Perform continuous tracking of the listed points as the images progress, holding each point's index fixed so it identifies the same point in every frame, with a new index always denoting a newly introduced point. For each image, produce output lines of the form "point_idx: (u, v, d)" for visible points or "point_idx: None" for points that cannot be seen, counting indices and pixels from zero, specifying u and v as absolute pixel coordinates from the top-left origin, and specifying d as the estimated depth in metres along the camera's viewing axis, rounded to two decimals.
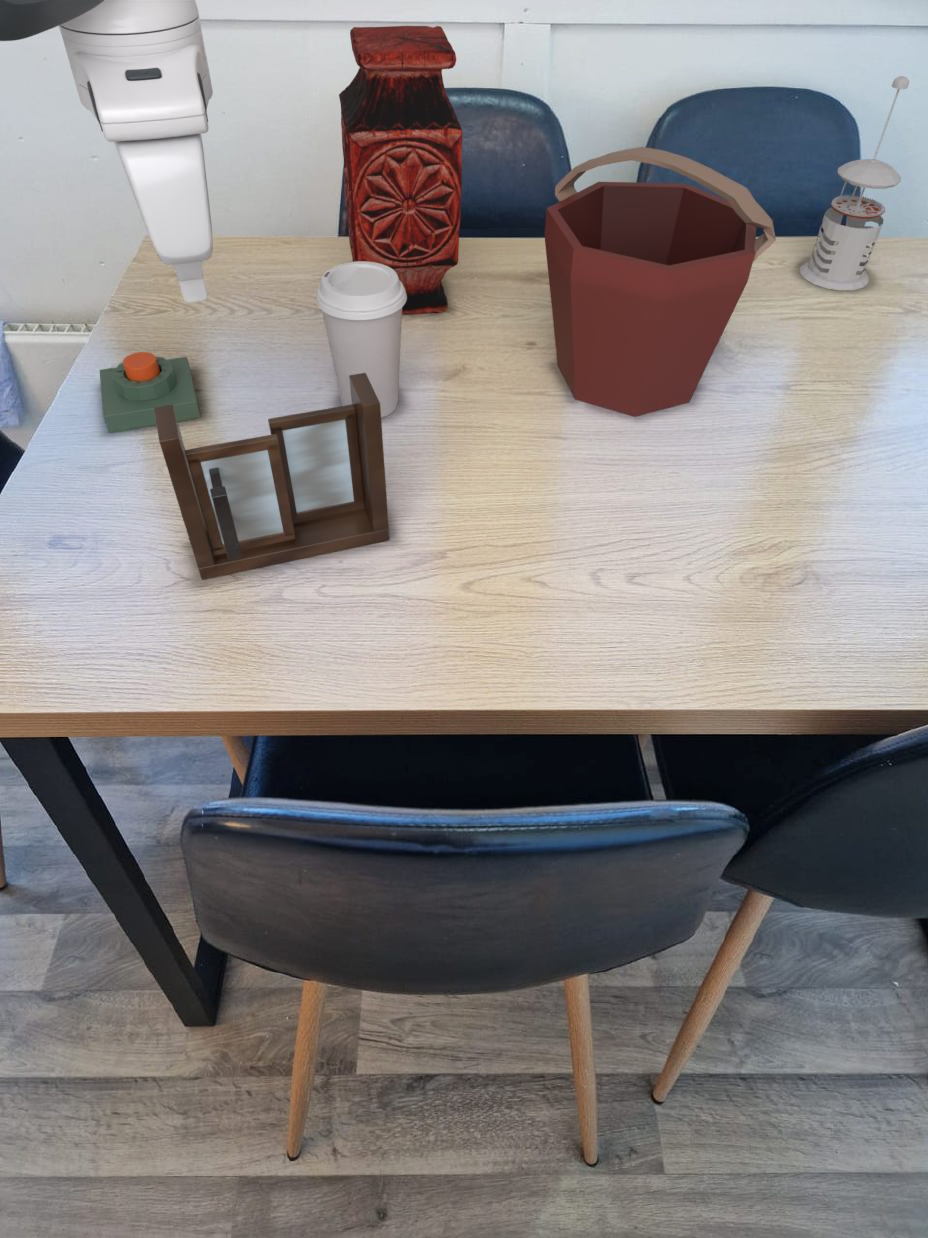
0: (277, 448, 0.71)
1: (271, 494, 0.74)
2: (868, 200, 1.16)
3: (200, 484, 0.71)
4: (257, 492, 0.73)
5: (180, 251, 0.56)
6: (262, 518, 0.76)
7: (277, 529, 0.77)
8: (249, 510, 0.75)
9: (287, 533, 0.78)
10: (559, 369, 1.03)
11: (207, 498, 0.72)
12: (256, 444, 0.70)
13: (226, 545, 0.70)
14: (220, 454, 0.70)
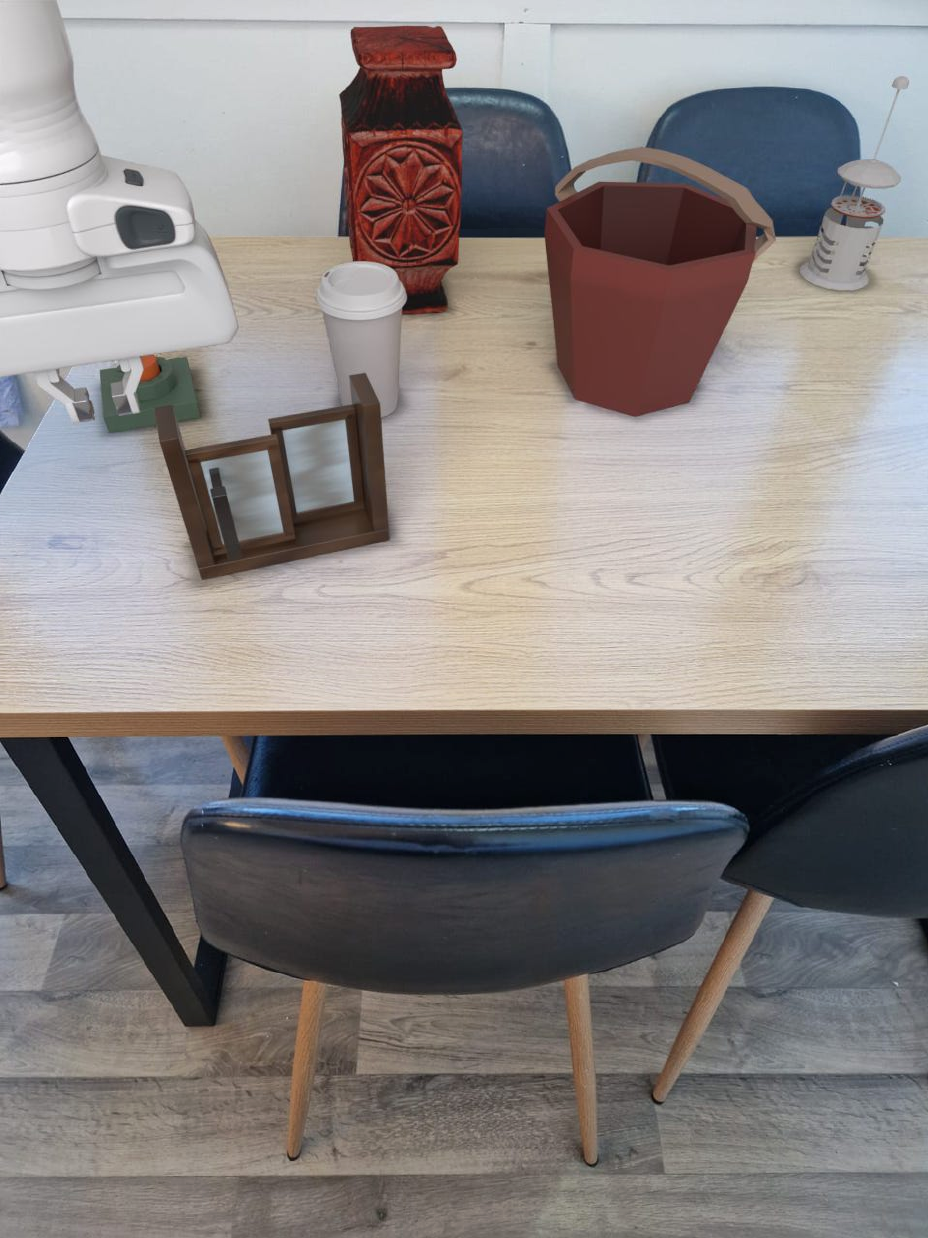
0: (277, 448, 0.71)
1: (271, 494, 0.74)
2: (868, 200, 1.16)
3: (200, 484, 0.71)
4: (257, 492, 0.73)
5: None
6: (262, 518, 0.76)
7: (277, 529, 0.77)
8: (249, 510, 0.75)
9: (287, 533, 0.78)
10: (559, 369, 1.03)
11: (207, 498, 0.72)
12: (256, 444, 0.70)
13: (226, 545, 0.70)
14: (220, 454, 0.70)
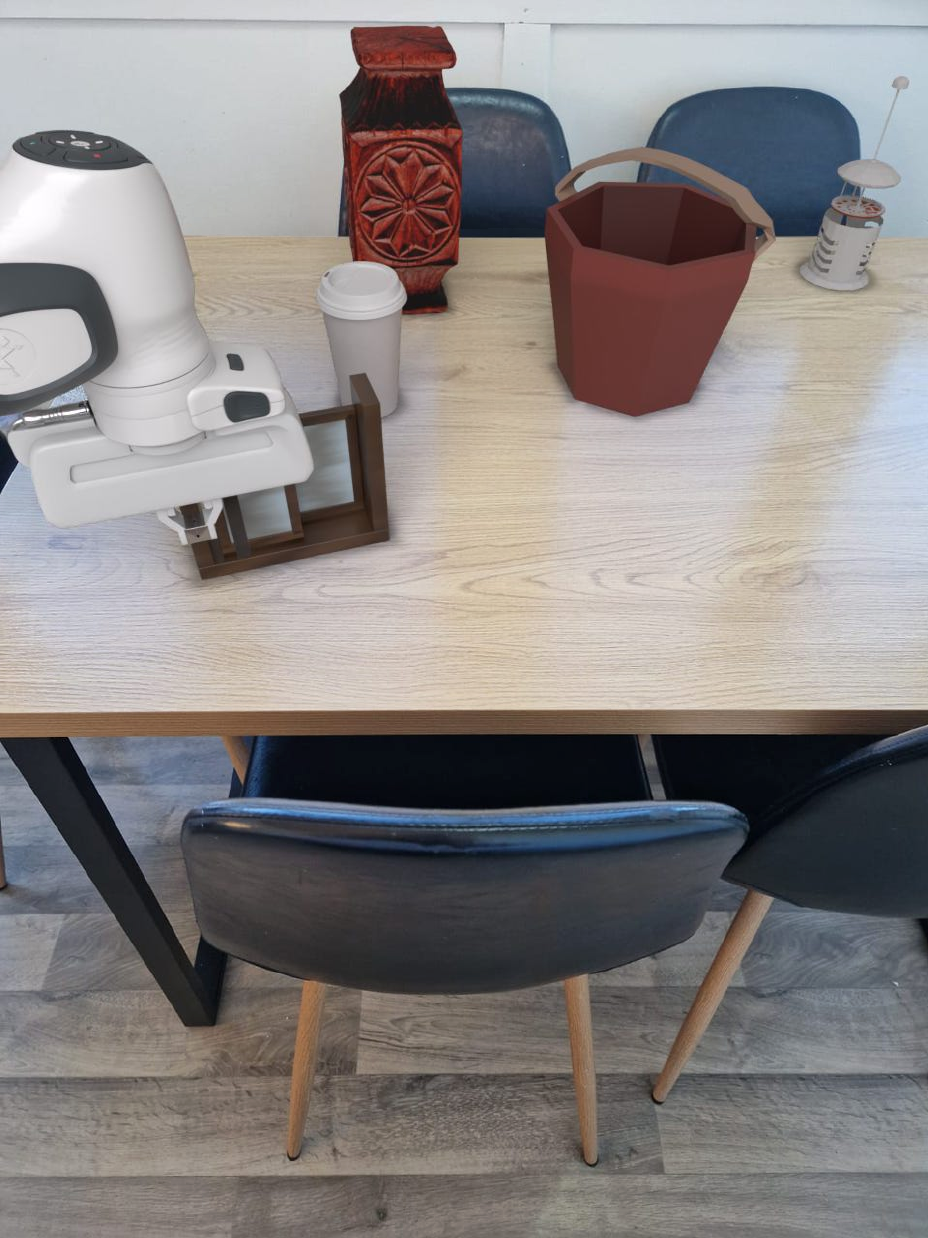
0: None
1: (280, 493, 0.74)
2: (868, 200, 1.16)
3: None
4: (266, 490, 0.74)
5: None
6: (271, 516, 0.76)
7: (285, 527, 0.77)
8: (258, 508, 0.75)
9: (295, 531, 0.78)
10: (559, 369, 1.03)
11: None
12: None
13: (235, 543, 0.71)
14: None
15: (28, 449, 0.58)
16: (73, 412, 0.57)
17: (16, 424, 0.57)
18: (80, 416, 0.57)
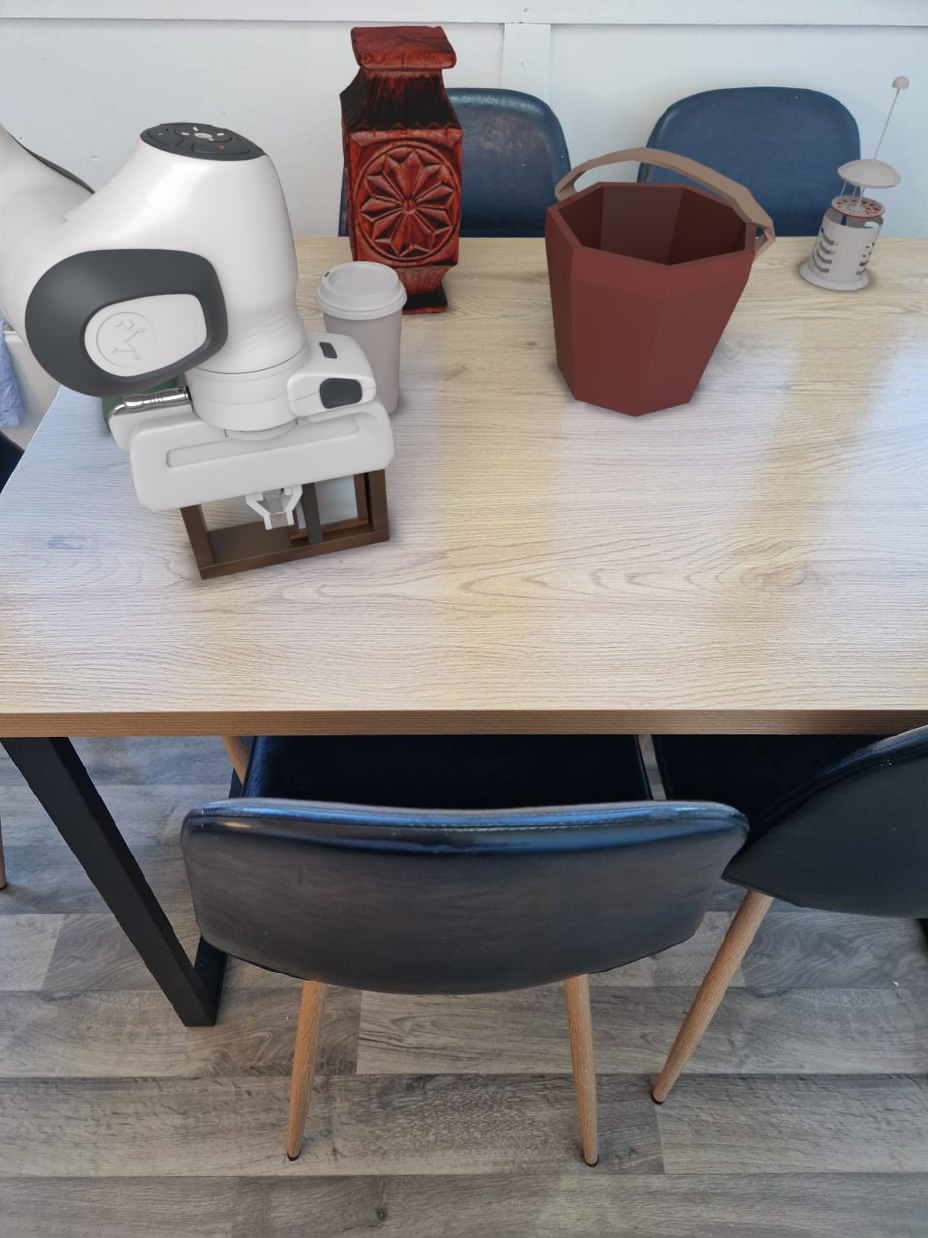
0: None
1: (349, 479, 0.76)
2: (868, 200, 1.16)
3: None
4: None
5: None
6: (338, 503, 0.77)
7: (351, 514, 0.79)
8: (326, 495, 0.76)
9: (361, 518, 0.79)
10: (559, 369, 1.03)
11: None
12: None
13: (309, 528, 0.72)
14: None
15: (127, 433, 0.60)
16: (173, 397, 0.59)
17: (118, 408, 0.58)
18: (179, 401, 0.59)
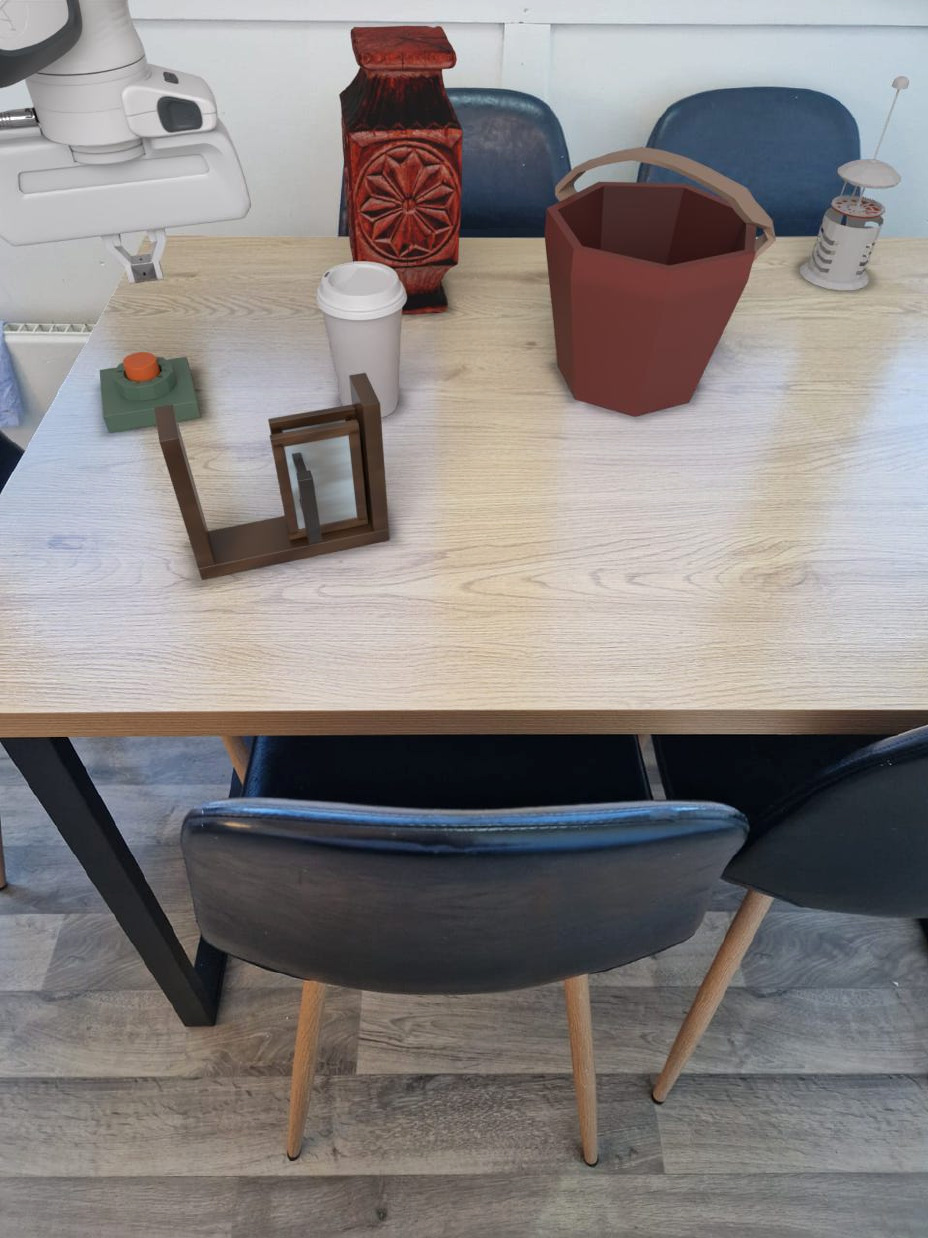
0: (358, 433, 0.72)
1: (348, 479, 0.76)
2: (868, 200, 1.16)
3: (282, 469, 0.72)
4: (335, 477, 0.75)
5: None
6: (338, 503, 0.77)
7: (351, 514, 0.79)
8: (326, 495, 0.76)
9: (360, 518, 0.79)
10: (559, 369, 1.03)
11: (288, 483, 0.74)
12: (338, 429, 0.71)
13: (308, 528, 0.72)
14: (303, 439, 0.71)
15: None
16: (19, 116, 0.62)
17: None
18: (26, 121, 0.62)
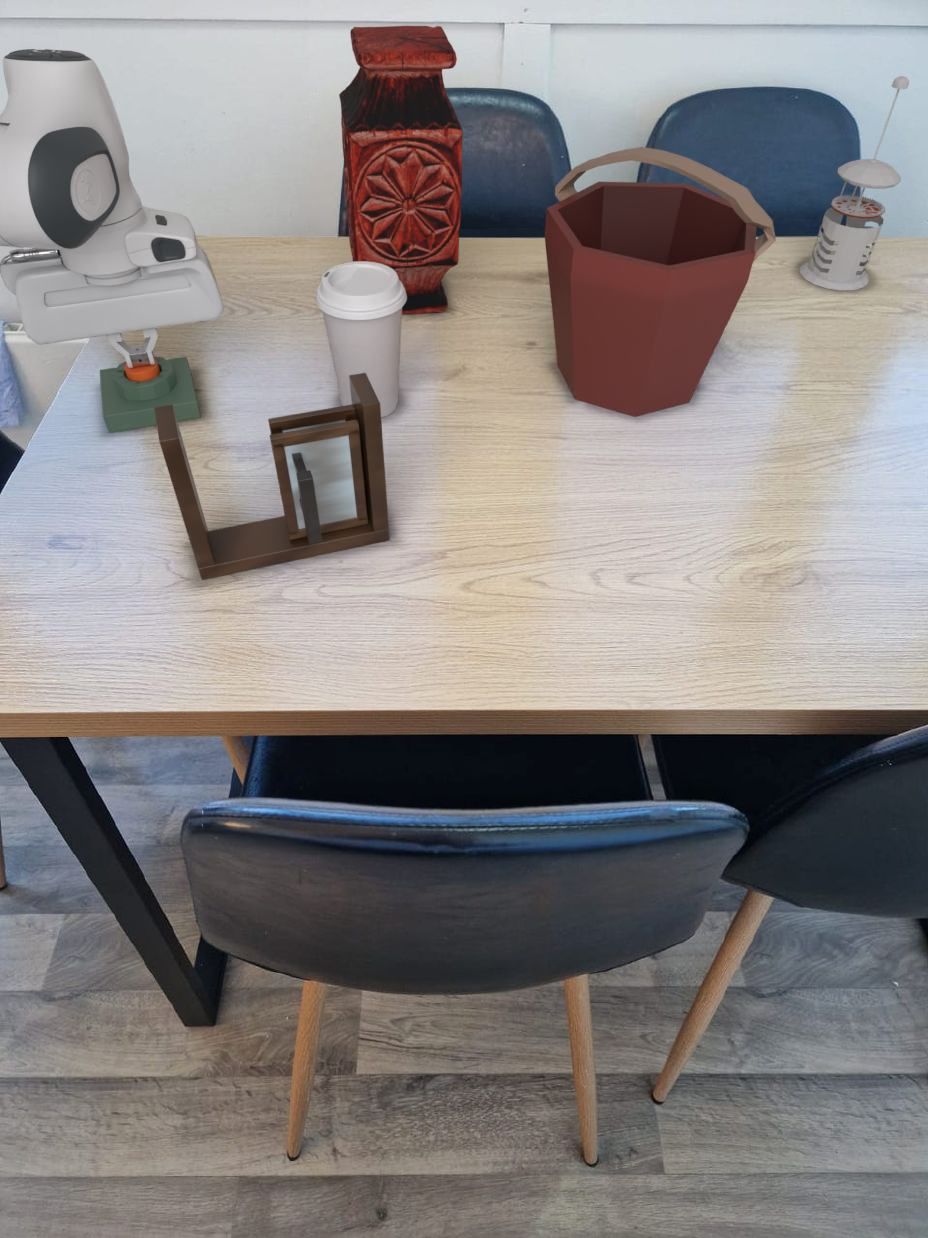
0: (358, 433, 0.72)
1: (348, 479, 0.76)
2: (868, 200, 1.16)
3: (282, 469, 0.72)
4: (335, 477, 0.75)
5: None
6: (338, 503, 0.77)
7: (351, 514, 0.79)
8: (326, 495, 0.76)
9: (360, 518, 0.79)
10: (559, 369, 1.03)
11: (288, 483, 0.74)
12: (338, 429, 0.71)
13: (308, 528, 0.72)
14: (303, 439, 0.71)
15: (14, 279, 0.83)
16: (46, 251, 0.82)
17: (5, 259, 0.81)
18: (51, 255, 0.82)
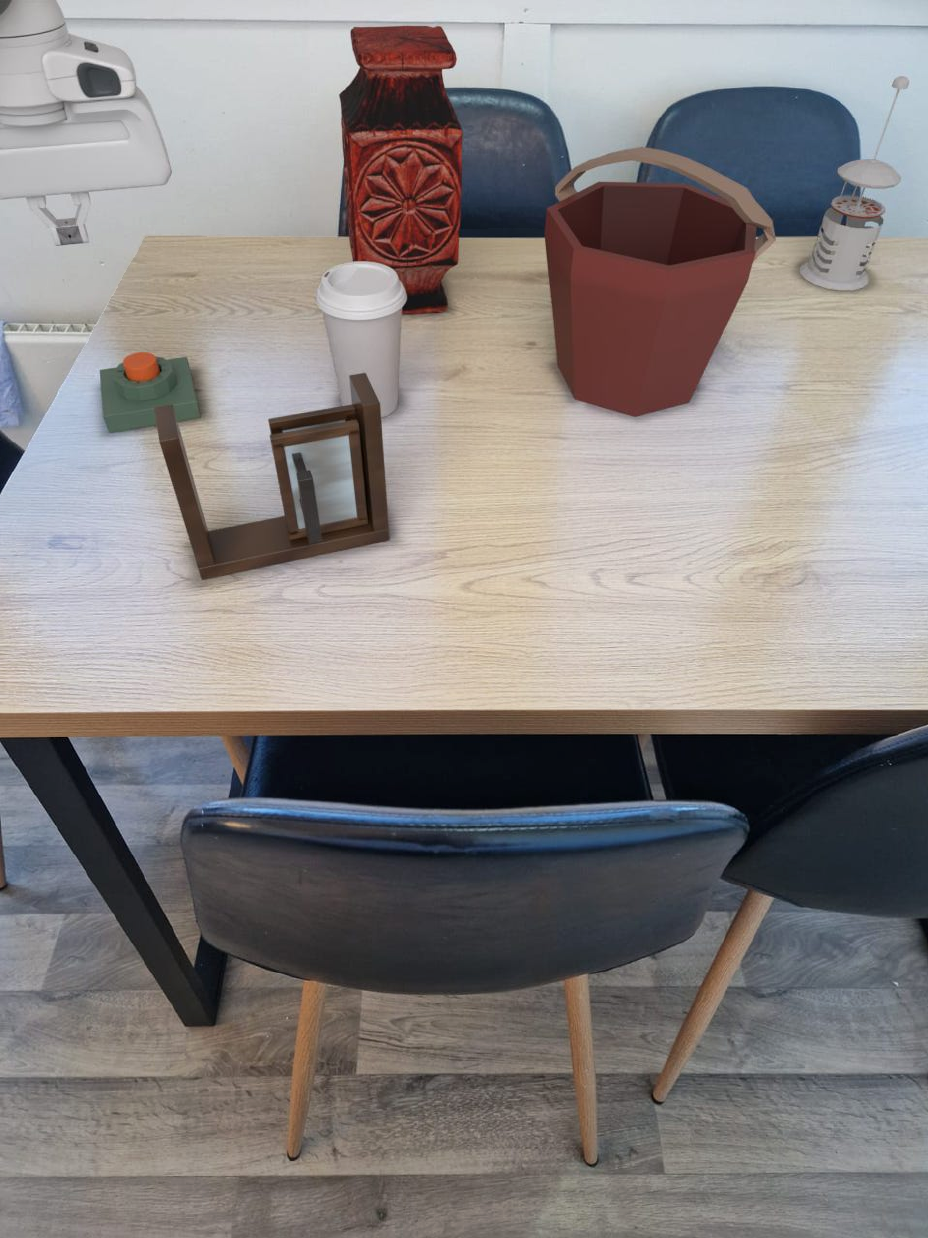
0: (358, 433, 0.72)
1: (348, 479, 0.76)
2: (868, 200, 1.16)
3: (282, 469, 0.72)
4: (335, 477, 0.75)
5: None
6: (338, 503, 0.77)
7: (351, 514, 0.79)
8: (326, 495, 0.76)
9: (360, 518, 0.79)
10: (559, 369, 1.03)
11: (288, 483, 0.74)
12: (338, 429, 0.71)
13: (308, 528, 0.72)
14: (303, 439, 0.71)
15: None
16: None
17: None
18: None
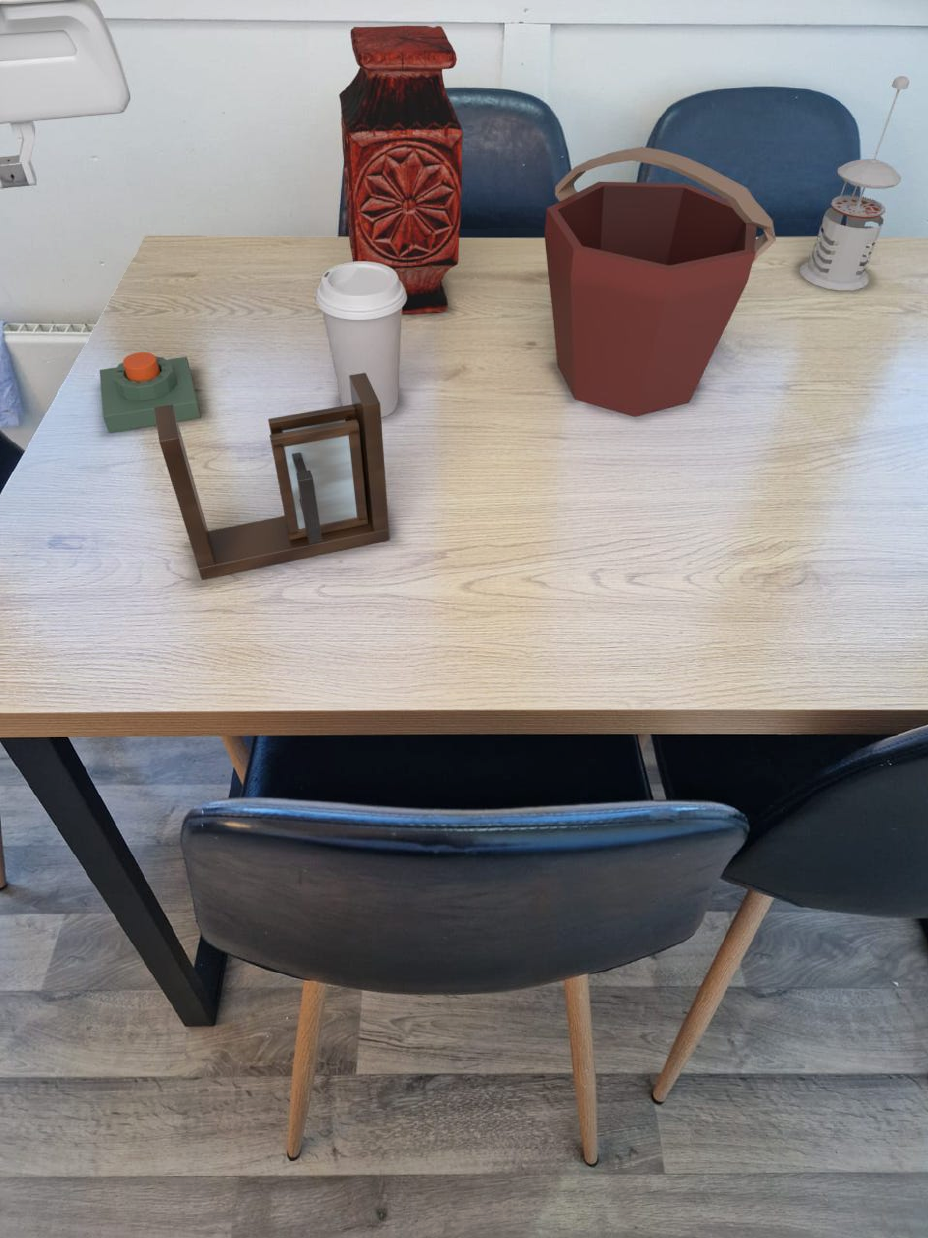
0: (358, 433, 0.72)
1: (348, 479, 0.76)
2: (868, 200, 1.16)
3: (282, 469, 0.72)
4: (335, 477, 0.75)
5: None
6: (338, 503, 0.77)
7: (351, 514, 0.79)
8: (326, 495, 0.76)
9: (360, 518, 0.79)
10: (559, 369, 1.03)
11: (288, 483, 0.74)
12: (338, 429, 0.71)
13: (308, 528, 0.72)
14: (303, 439, 0.71)
15: None
16: None
17: None
18: None
